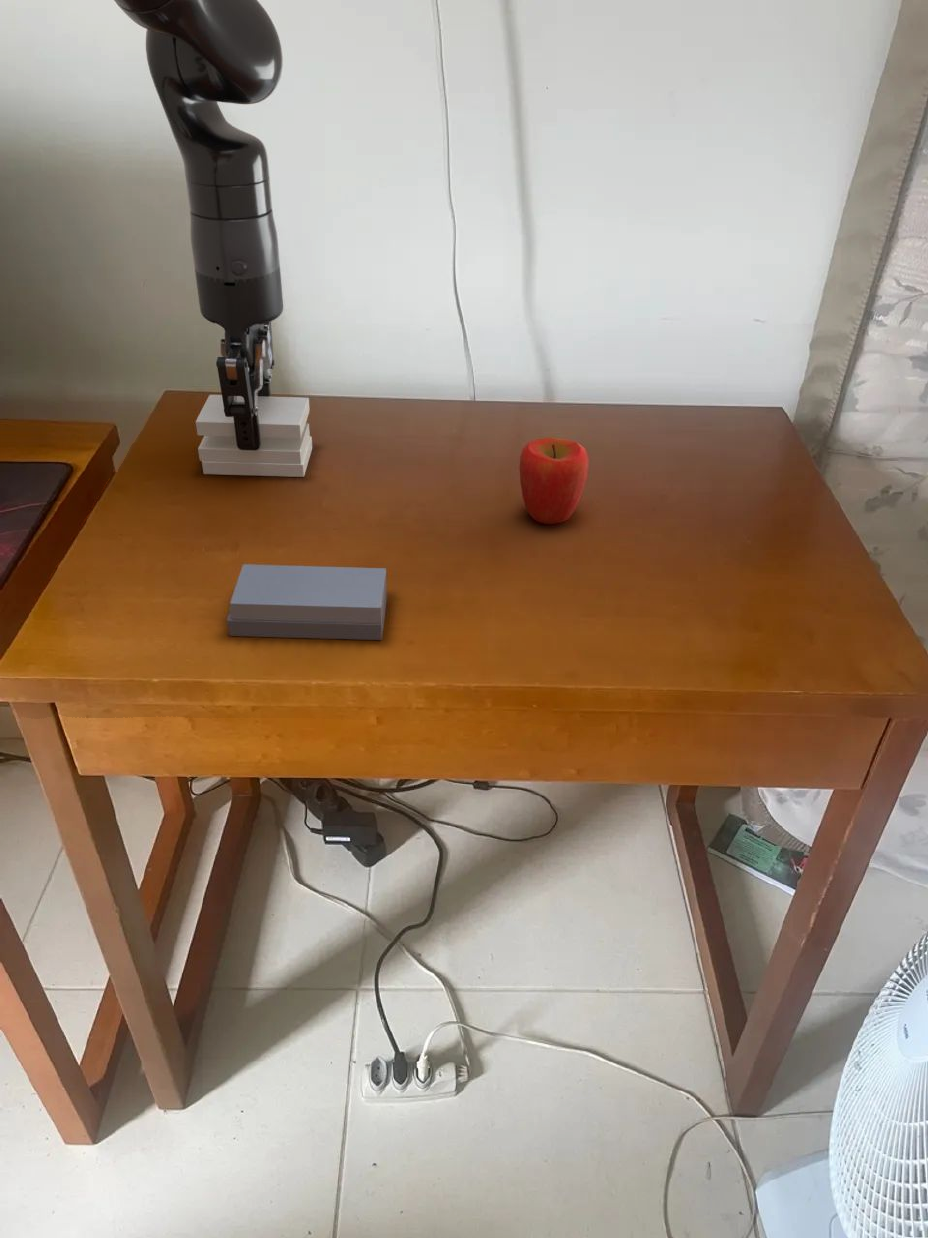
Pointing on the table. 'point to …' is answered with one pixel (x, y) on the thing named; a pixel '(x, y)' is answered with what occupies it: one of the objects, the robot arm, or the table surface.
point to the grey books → (309, 602)
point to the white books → (256, 456)
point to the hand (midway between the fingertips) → (255, 432)
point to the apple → (552, 478)
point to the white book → (273, 415)
